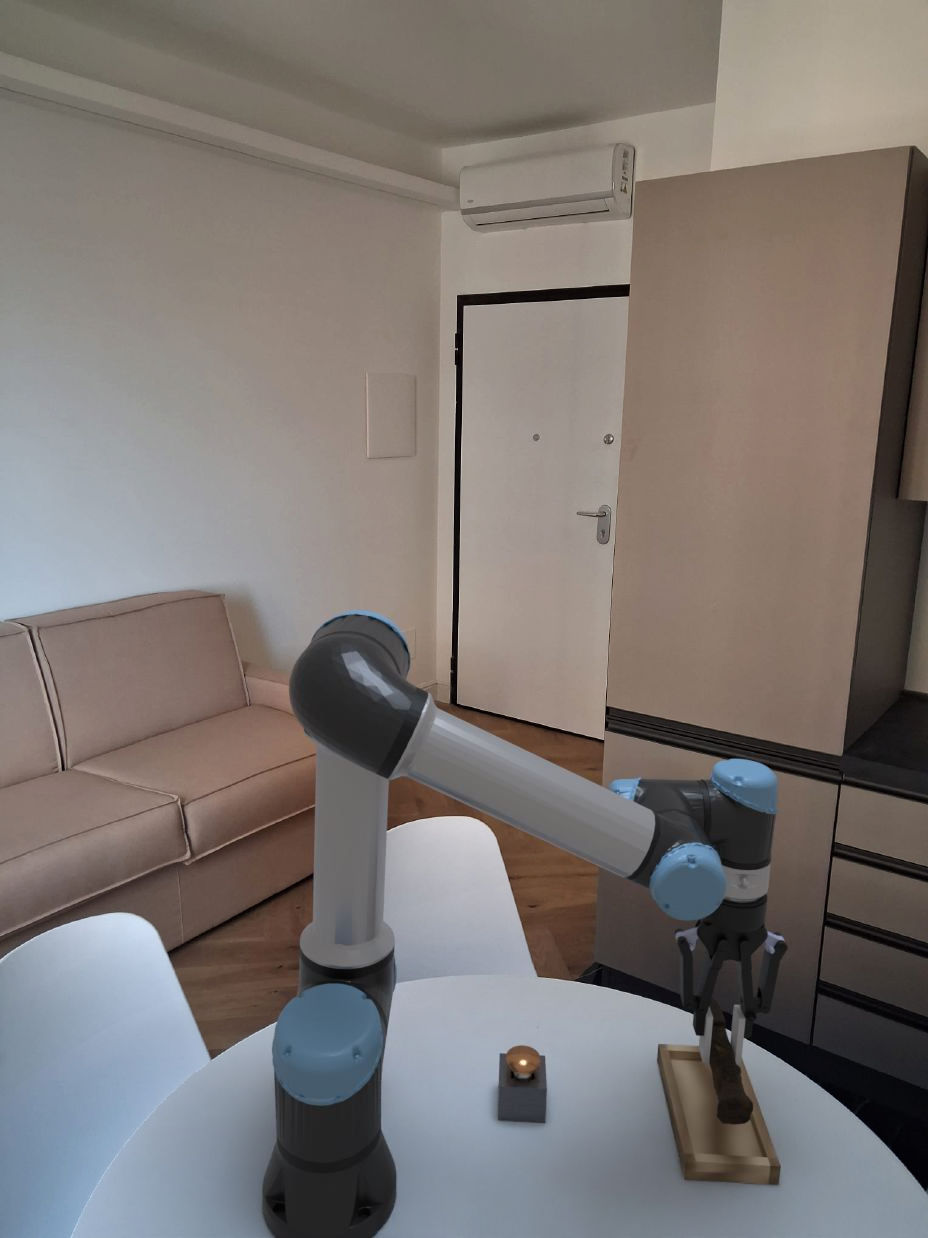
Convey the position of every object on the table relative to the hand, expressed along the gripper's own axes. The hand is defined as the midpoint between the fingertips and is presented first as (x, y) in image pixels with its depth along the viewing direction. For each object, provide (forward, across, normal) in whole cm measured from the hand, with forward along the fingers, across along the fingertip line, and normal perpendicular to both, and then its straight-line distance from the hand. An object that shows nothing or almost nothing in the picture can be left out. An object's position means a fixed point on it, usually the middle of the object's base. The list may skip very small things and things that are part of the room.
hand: (719, 1056), depth 114 cm
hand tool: (+2, 0, 0) cm, 2 cm away
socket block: (+9, -25, 0) cm, 26 cm away
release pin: (+9, -25, +1) cm, 26 cm away
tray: (+9, 0, 0) cm, 9 cm away
